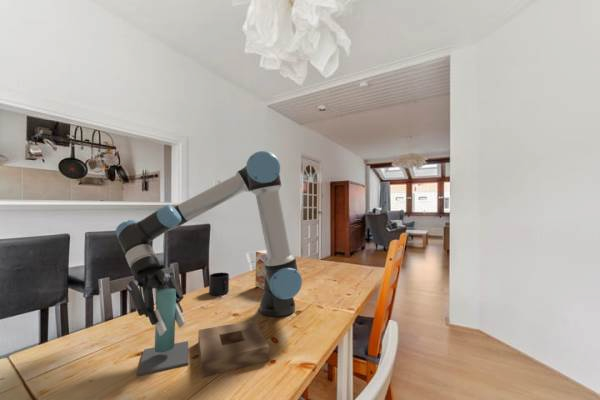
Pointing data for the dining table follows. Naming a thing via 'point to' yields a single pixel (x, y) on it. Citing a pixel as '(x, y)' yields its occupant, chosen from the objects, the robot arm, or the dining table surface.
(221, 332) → the pocket block
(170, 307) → the peg
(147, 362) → the mat
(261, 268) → the coffeecake box
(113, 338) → the dining table surface
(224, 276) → the mug
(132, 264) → the robot arm
